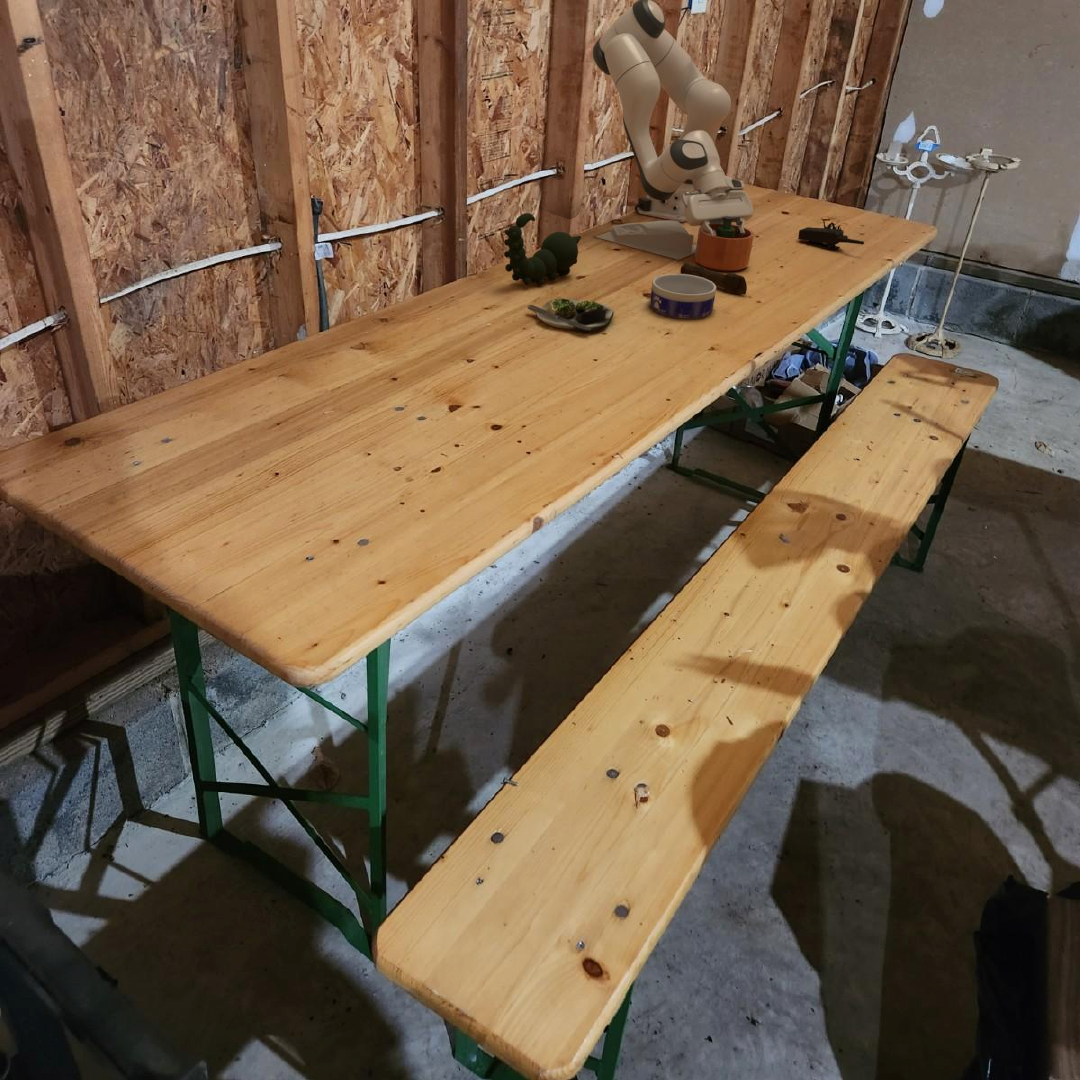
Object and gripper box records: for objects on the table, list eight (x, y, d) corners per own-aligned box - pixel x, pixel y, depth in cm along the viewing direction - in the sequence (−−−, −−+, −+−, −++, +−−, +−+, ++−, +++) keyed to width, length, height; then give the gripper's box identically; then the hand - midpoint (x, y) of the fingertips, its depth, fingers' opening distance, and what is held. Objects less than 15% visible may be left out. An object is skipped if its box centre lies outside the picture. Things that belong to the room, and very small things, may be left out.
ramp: (595, 237, 268) (596, 218, 265) (624, 226, 279) (626, 208, 276) (678, 259, 255) (681, 240, 252) (706, 248, 266) (709, 228, 263)
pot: (690, 267, 250) (695, 234, 245) (699, 252, 262) (704, 220, 257) (744, 276, 247) (750, 242, 242) (750, 260, 259) (756, 227, 253)
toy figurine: (523, 301, 227) (593, 272, 240) (522, 224, 215) (595, 198, 229) (497, 290, 232) (567, 262, 246) (494, 214, 220) (568, 190, 234)
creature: (832, 234, 289) (814, 230, 285) (839, 217, 286) (821, 213, 282) (849, 242, 283) (830, 238, 279) (856, 224, 280) (837, 220, 277)
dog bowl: (636, 305, 224) (639, 280, 221) (676, 292, 233) (679, 268, 230) (686, 324, 215) (689, 299, 212) (725, 310, 224) (729, 286, 221)
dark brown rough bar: (677, 278, 242) (680, 261, 240) (686, 275, 245) (689, 257, 242) (739, 298, 232) (742, 280, 230) (747, 295, 235) (751, 277, 232)
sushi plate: (516, 325, 209) (517, 305, 206) (539, 300, 223) (540, 281, 220) (599, 339, 205) (601, 319, 202) (617, 312, 219) (619, 293, 216)
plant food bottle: (710, 262, 252) (717, 218, 246) (713, 257, 256) (720, 214, 250) (728, 265, 251) (736, 221, 245) (730, 260, 255) (738, 216, 249)
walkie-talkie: (808, 230, 279) (872, 239, 268) (800, 248, 279) (863, 258, 268) (803, 218, 274) (868, 227, 263) (794, 235, 274) (859, 245, 262)
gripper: (686, 185, 244) (701, 233, 243) (748, 181, 252) (763, 227, 251) (674, 198, 250) (689, 245, 248) (735, 194, 258) (750, 239, 256)
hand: (727, 236), depth 250 cm, fingers open, 8 cm apart
